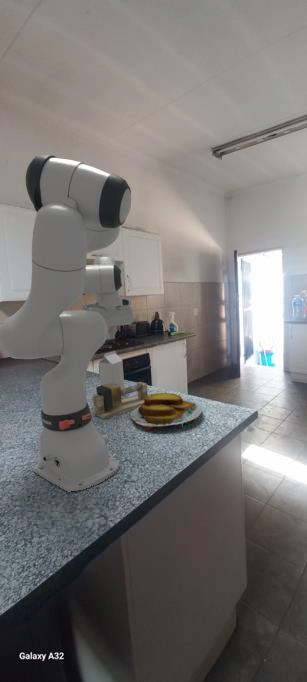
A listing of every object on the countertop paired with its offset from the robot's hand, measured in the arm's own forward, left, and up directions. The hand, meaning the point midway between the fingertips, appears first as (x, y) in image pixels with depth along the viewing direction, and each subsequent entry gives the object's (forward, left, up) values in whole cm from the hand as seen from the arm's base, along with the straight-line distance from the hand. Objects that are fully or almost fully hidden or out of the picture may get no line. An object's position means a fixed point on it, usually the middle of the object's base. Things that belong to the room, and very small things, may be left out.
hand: (110, 338), depth 112 cm
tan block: (-5, +5, -23) cm, 24 cm away
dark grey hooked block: (-5, +8, -23) cm, 25 cm away
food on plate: (-24, -5, -27) cm, 36 cm away
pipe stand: (-5, 0, -26) cm, 27 cm away
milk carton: (+9, -5, -26) cm, 28 cm away
